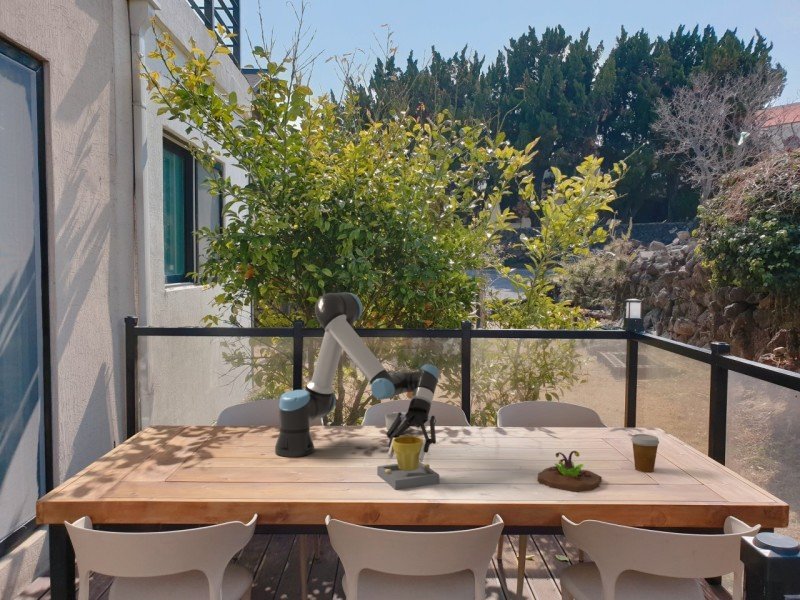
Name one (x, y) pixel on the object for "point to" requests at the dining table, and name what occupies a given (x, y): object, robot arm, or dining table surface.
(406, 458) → the plant pot
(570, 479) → the plant
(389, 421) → the teacup
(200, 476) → the dining table surface
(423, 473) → the base
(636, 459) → the disposable coffee cup
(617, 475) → the dining table surface
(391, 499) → the dining table surface
